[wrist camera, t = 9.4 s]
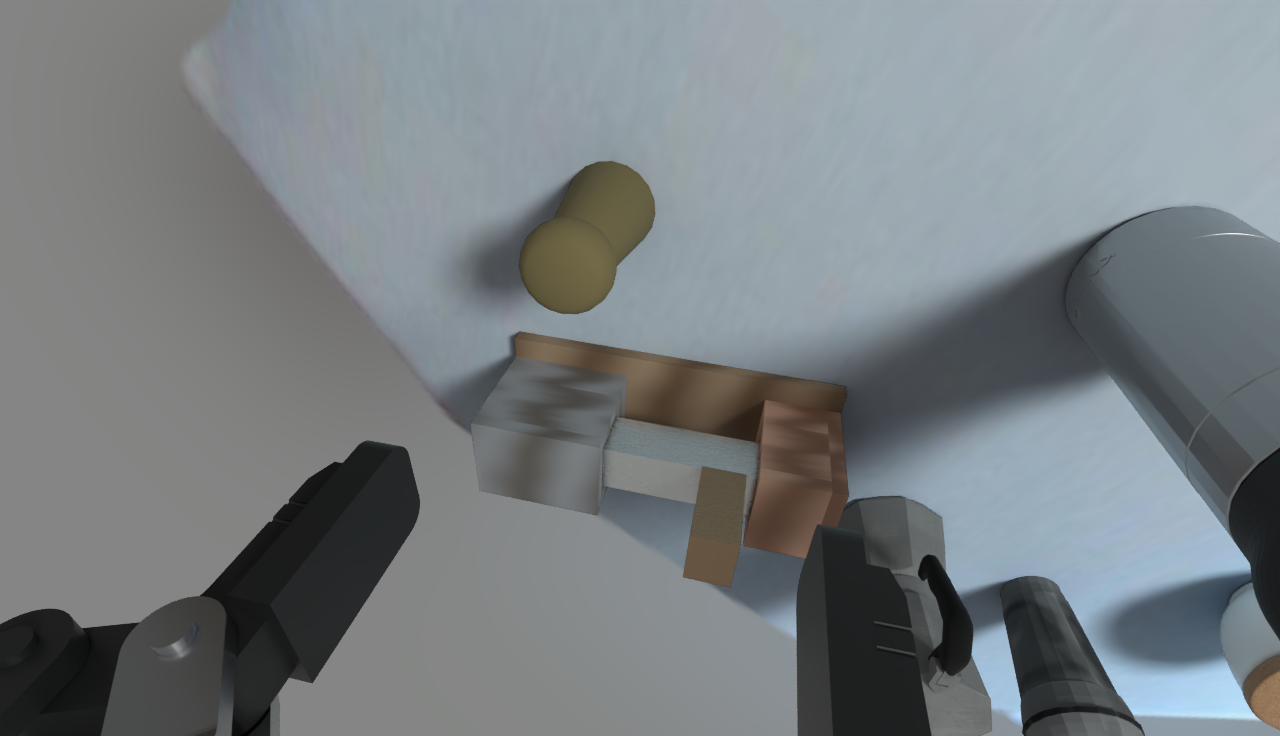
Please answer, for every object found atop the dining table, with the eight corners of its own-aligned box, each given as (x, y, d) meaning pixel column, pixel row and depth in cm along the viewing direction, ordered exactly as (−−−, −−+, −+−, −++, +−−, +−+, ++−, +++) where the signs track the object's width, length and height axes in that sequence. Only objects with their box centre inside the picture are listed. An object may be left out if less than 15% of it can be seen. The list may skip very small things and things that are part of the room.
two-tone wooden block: (816, 451, 42) (822, 563, 34) (804, 490, 44) (806, 604, 37) (588, 409, 44) (544, 505, 37) (587, 449, 47) (546, 547, 39)
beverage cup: (1095, 606, 51) (1235, 910, 35) (1005, 627, 54) (1094, 911, 38) (1057, 555, 48) (1187, 855, 32) (966, 580, 52) (1043, 861, 36)
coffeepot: (918, 590, 54) (963, 824, 40) (812, 568, 55) (818, 786, 41) (987, 469, 45) (1078, 714, 31) (859, 445, 46) (888, 669, 32)
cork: (617, 267, 42) (570, 351, 33) (549, 208, 41) (481, 279, 32) (674, 206, 39) (638, 282, 30) (603, 140, 37) (543, 199, 28)
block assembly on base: (845, 386, 44) (856, 476, 36) (814, 482, 49) (817, 577, 42) (519, 331, 47) (467, 403, 39) (526, 427, 53) (481, 506, 45)
